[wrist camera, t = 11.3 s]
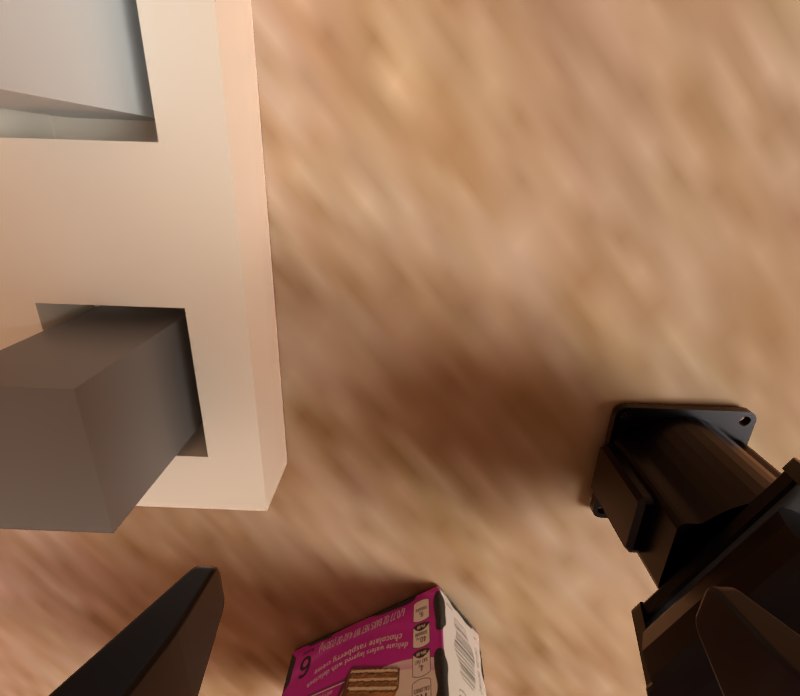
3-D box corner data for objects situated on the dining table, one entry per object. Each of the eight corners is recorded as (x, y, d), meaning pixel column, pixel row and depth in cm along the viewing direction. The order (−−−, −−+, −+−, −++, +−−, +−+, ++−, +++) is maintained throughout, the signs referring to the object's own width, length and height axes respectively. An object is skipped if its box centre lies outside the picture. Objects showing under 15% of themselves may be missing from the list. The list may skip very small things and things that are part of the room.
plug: (153, -47, 15) (-103, -258, 7) (176, 122, 17) (-10, 87, 9) (33, -51, 15) (-339, -265, 8) (69, 118, 17) (-200, 79, 9)
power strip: (237, -176, 14) (178, -290, 10) (287, 462, 23) (265, 515, 20) (-80, -184, 14) (-243, -300, 11) (93, 455, 23) (37, 506, 20)
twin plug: (202, 303, 19) (73, 389, 12) (216, 405, 21) (113, 533, 14) (110, 300, 19) (-74, 383, 12) (133, 402, 21) (-15, 528, 14)
